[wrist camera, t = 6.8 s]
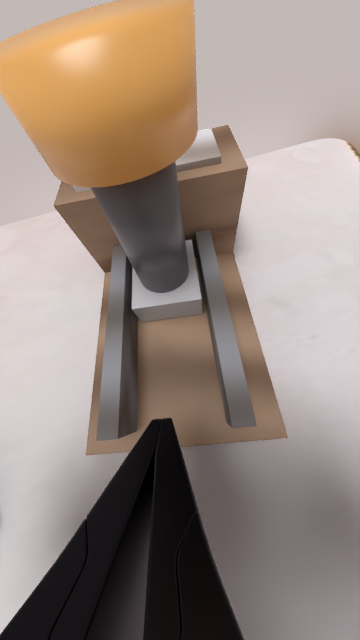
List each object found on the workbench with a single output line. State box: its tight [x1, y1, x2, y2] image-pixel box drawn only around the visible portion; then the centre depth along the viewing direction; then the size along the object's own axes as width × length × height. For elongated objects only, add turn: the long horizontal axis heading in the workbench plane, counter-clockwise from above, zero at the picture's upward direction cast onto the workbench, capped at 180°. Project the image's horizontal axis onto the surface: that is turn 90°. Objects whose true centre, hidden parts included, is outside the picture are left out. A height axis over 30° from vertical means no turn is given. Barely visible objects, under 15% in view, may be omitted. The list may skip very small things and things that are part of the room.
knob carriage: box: [0, 0, 202, 322], centre depth 11 cm, size 6×6×13 cm
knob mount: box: [54, 125, 288, 455], centre depth 13 cm, size 21×13×8 cm, turn 6°
